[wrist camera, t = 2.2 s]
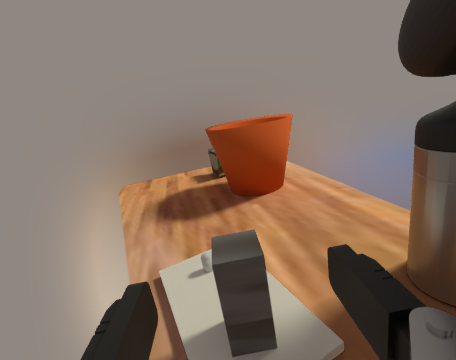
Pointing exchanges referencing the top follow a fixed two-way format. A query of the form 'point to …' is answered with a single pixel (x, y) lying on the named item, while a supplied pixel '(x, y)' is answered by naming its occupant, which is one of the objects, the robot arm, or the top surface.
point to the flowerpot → (253, 152)
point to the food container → (215, 164)
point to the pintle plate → (215, 326)
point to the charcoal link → (243, 292)
